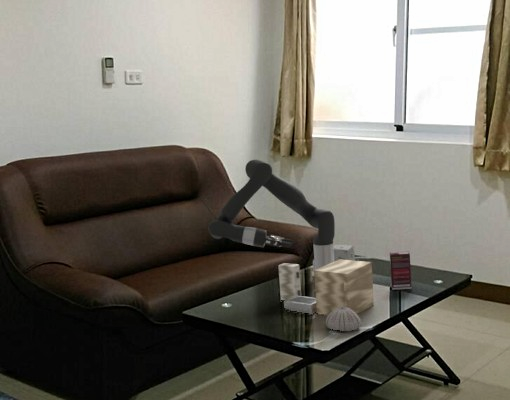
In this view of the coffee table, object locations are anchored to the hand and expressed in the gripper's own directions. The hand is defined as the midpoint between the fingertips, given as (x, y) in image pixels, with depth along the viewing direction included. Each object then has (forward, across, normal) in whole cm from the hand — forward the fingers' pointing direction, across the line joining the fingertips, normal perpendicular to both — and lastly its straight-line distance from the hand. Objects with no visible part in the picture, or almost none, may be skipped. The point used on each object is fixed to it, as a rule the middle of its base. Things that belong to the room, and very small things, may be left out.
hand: (291, 244), depth 337 cm
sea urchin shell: (+28, -36, +23) cm, 51 cm away
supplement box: (+50, +17, +12) cm, 54 cm away
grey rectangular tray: (+11, -11, +24) cm, 29 cm away
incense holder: (+23, +60, +15) cm, 66 cm away
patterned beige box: (+26, -12, +20) cm, 35 cm away
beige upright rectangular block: (+4, +2, +24) cm, 25 cm away
